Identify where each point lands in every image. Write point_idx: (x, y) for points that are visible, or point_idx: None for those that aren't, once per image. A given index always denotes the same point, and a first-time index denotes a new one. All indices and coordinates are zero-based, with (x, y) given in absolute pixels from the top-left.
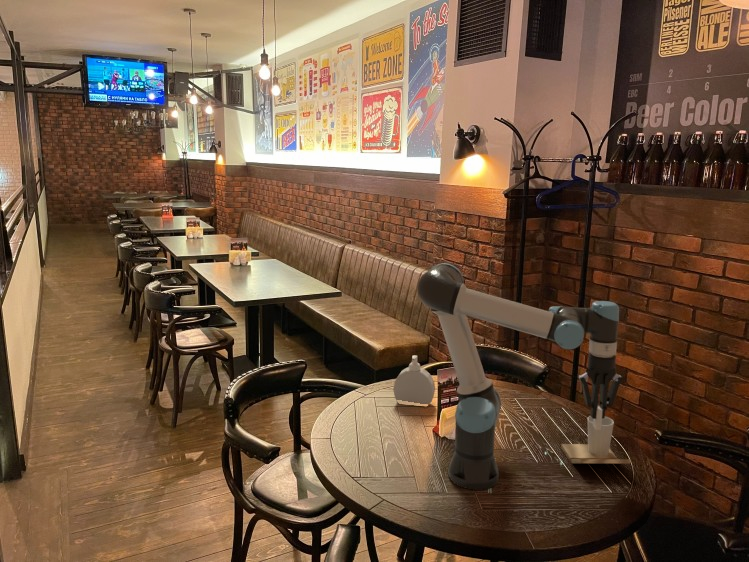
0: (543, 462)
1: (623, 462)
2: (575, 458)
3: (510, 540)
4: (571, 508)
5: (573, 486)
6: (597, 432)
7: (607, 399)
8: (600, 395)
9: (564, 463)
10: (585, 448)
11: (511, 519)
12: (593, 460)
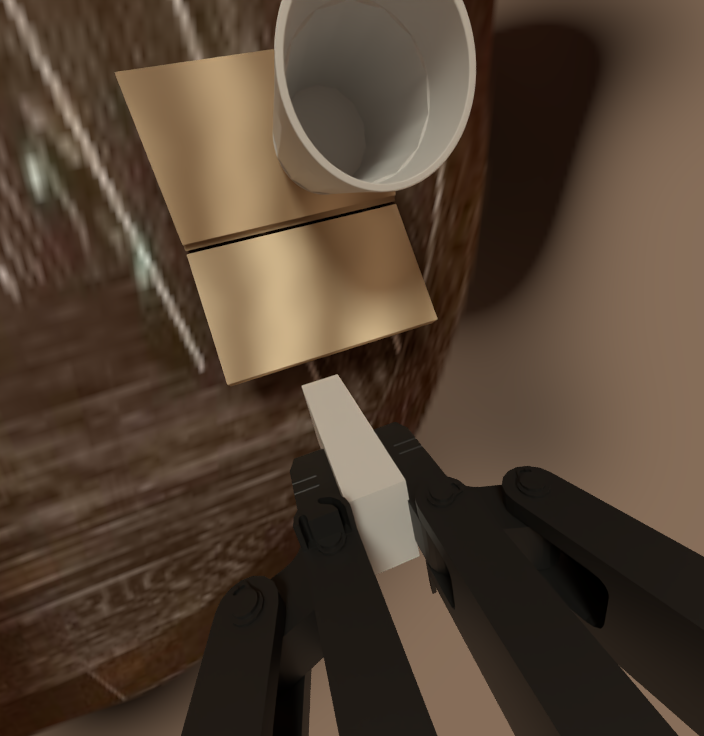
0: (50, 288)
1: (406, 330)
2: (208, 238)
3: (57, 710)
4: (207, 540)
5: (209, 432)
6: (334, 186)
7: (561, 543)
8: (508, 666)
9: (159, 271)
10: (259, 113)
11: (31, 654)
12: (286, 366)
